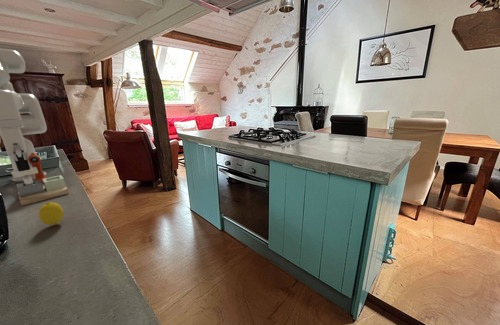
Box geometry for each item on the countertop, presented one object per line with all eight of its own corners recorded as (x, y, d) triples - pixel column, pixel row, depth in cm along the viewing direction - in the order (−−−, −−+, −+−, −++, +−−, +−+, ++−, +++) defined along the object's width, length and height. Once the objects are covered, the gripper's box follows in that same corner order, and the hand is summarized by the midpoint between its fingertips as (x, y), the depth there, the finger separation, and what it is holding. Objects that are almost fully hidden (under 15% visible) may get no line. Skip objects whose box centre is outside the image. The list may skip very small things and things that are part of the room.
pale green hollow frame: (45, 187, 93) (42, 179, 91) (63, 183, 97) (61, 175, 96) (47, 191, 89) (44, 182, 87) (66, 186, 93) (63, 178, 92)
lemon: (69, 218, 71) (62, 197, 69) (62, 227, 66) (54, 204, 64) (48, 222, 69) (41, 200, 67) (39, 231, 64) (31, 208, 62)
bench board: (19, 195, 90) (17, 191, 89) (62, 185, 100) (61, 181, 99) (21, 205, 81) (19, 201, 80) (68, 193, 91) (67, 189, 90)
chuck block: (19, 193, 87) (16, 184, 86) (42, 187, 92) (40, 179, 91) (20, 198, 83) (17, 188, 82) (44, 192, 88) (42, 183, 87)
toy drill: (35, 188, 93) (24, 155, 90) (35, 183, 106) (25, 153, 103) (50, 185, 96) (39, 152, 93) (48, 180, 110) (39, 151, 107)
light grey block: (20, 196, 84) (11, 172, 81) (19, 194, 86) (11, 171, 83) (44, 190, 89) (37, 168, 86) (43, 189, 91) (36, 166, 88)
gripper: (-6, 124, 82) (9, 166, 87) (-8, 126, 71) (10, 175, 76) (21, 122, 88) (34, 162, 92) (24, 124, 77) (39, 169, 81)
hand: (23, 168), depth 84 cm, fingers open, 9 cm apart
